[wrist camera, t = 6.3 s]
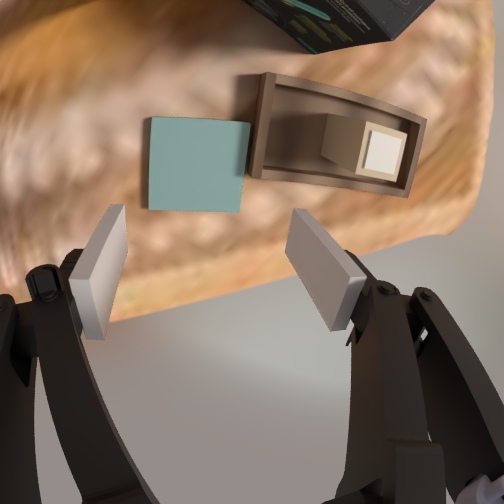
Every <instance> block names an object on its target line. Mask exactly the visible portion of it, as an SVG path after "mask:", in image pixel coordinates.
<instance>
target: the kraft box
mask: <svg viewBox="0 0 504 504" xmlns="http://www.w3.org/2000/svg"><path fill="white" fill-rule="evenodd" d="M406 138H407V134H406V133H403V132H400V131H397V130H394V129H391V128H387V127H384V126H381V125H378V124H374V123H371V122H368V121H364V120H359V119H355V118H350V117H345V116H340V115H335V114H330V113H328V117H327V123H326V128H325V134H324V139H323V144H322V150H321V156H323V157H325V158H327V159H329V160H331V161H333V162H334V163H336V164H338V165H340V166H342V167H344V168H345V169H347V170H349V171H351V172H353V173H354V174H358V175H364V176H369V177H374V178H380V179H385V180H389V181H394V182H396V180H397V176H398V172H399V168H400V164H401V160H402V155H403V151H404V147H405V142H406Z"/></svg>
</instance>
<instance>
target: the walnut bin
mask: <svg viewBox="0 0 504 504" xmlns="http://www.w3.org/2000/svg"><path fill="white" fill-rule="evenodd" d="M328 113H330V114H335V115H340V116H345V117H350V118H355V119H359V120H364V121H368V122H371V123H374V124H378V125H381V126H384V127H387V128H391V129H394V130H397V131H400V132H403V133H406V134H407V138H406V142H405V147H404V151H403V155H402V160H401V164H400V168H399V172H398V176H397V180H396V182H394V181H389V180H385V179H380V178H374V177H369V176H364V175H358V174H354V173H353V172H351V171H349V170H347V169H345V168H344V167H342V166H340V165H338V164H336V163H334V162H333V161H331V160H329V159H327V158H325V157H323V156H321V150H322V144H323V139H324V134H325V128H326V123H327V117H328ZM426 122H427V119H425V118H423V117H421V116H418V115H416V114H414V113H411V112H409V111H406V110H404V109H401V108H399V107H396V106H393V105H391V104H388V103H385V102H382V101H379V100H376V99H373V98H370V97H367V96H364V95H361V94H358V93H355V92H351V91H348V90H345V89H341V88H337V87H334V86H330V85H326V84H322V83H318V82H314V81H310V80H305V79H301V78H296V77H291V76H286V75H281V74H275V73H270V72H265V73H262V74H261V78H260V85H259V92H258V98H257V105H256V112H255V119H254V126H253V133H252V141H251V148H250V155H249V162H248V170H247V172H248V174H249V175H250V177H251V178H258V179H270V180H281V181H290V182H300V183H309V184H317V185H325V186H333V187H340V188H348V189H355V190H361V191H368V192H374V193H380V194H386V195H392V196H398V197H403V198H408V196H409V193H410V189H411V186H412V182H413V178H414V174H415V171H416V167H417V163H418V159H419V154H420V150H421V146H422V141H423V137H424V132H425V127H426Z"/></svg>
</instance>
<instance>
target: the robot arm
mask: <svg viewBox="0 0 504 504" xmlns="http://www.w3.org/2000/svg"><path fill="white" fill-rule="evenodd" d="M127 253H128V246H127V235H126V220H125V204H111V205H110V206H109V208H108V209H107V211H106V213H105V214H104V216H103V217H102V219H101V221H100V222H99V224H98V226H97V227H96V229H95V231H94V233H93V234H92V236H91V238H90V240H89V241H88V243H87V245H86V247H85V249H74V250H72V251H71V252H70V253H68V254H67V255H66V257H65V259H64V260H63V263H62V264H61V265H60V267H59V268H58V267H57V266H55V265H52V264H45V265H40V266H38V267H35V268H34V269H32V270H31V271H30V272H29V273H28V274H27V276H26V279H25V280H26V283H27V286H28V289H29V292H30V295H31V298H32V301H29V302H25V303H20V304H15V301H14V299H13V297H12V296H11V295H9V294H1V295H0V504H42V503H41V497H40V491H39V484H38V476H37V467H36V455H35V437H34V399H35V380H36V368H37V358H38V357H39V362H40V367H41V372H42V377H43V383H44V387H45V392H46V396H47V400H48V404H49V408H50V411H51V415H52V418H53V422H54V425H55V428H56V432H57V435H58V438H59V441H60V444H61V447H62V450H63V452H64V455H65V458H66V460H67V463H68V465H69V468H70V470H71V473H72V475H73V478H74V480H75V482H76V484H77V487H78V489H79V491H80V493H81V496H82V500H83V501H82V504H160V503H159V501H158V500H157V499H156V497H155V496H154V494H153V493H152V491H151V490H150V488H149V486H148V485H147V483H146V482H145V480H144V478H143V477H142V475H141V473H140V472H139V470H138V468H137V467H136V465H135V463H134V461H133V459H132V458H131V456H130V454H129V452H128V450H127V448H126V447H125V445H124V443H123V441H122V439H121V437H120V435H119V433H118V431H117V429H116V427H115V425H114V423H113V420H112V418H111V416H110V414H109V412H108V409H107V407H106V405H105V403H104V400H103V398H102V395H101V393H100V391H99V388H98V386H97V383H96V380H95V378H94V375H93V373H92V370H91V367H90V365H89V361H88V359H87V356H86V353H85V350H84V347H83V344H82V341H81V338H80V336H81V333H82V329H83V331H84V333H85V337H86V339H96V340H105V336H106V331H107V326H108V322H109V318H110V314H111V310H112V306H113V302H114V298H115V294H116V290H117V287H118V283H119V279H120V276H121V272H122V269H123V266H124V262H125V259H126V256H127ZM285 253H286V255H287V257H288V258H289V260H290V262H291V264H292V265H293V267H294V269H295V270H296V272H297V274H298V276H299V277H300V279H301V281H302V282H303V284H304V286H305V288H306V289H307V291H308V293H309V295H310V296H311V298H312V299H313V302H314V303H315V305H316V307H317V309H318V310H319V312H320V314H321V316H322V318H323V319H324V321H325V323H326V325H327V326H328V328H329V330H330V332H331V331H338V330H345V329H346V327H347V325H348V323H349V321H350V319H351V320H352V322H353V323H354V327H353V330H352V332H351V334H350V336H349V338H348V340H347V343H346V346H348V345H349V343H350V342H351V346H352V347H351V353H352V354H351V356H352V357H351V397H350V416H349V432H348V443H347V454H346V464H345V471H344V475H343V478H342V480H341V482H340V483H339V485H338V488H337V491H336V495H335V499H332V500H329V501H326V502H324V503H322V504H446V488H447V490H448V492H449V495H450V496H451V498H452V500H453V501H454V504H504V405H503V403H502V401H501V399H500V397H499V395H498V393H497V391H496V389H495V387H494V385H493V383H492V382H491V380H490V378H489V376H488V374H487V373H486V371H485V369H484V367H483V365H482V364H481V362H480V360H479V358H478V357H477V355H476V354H475V352H474V350H473V348H472V347H471V345H470V344H469V342H468V341H467V339H466V337H465V336H464V334H463V333H462V331H461V330H460V328H459V326H458V325H457V323H456V322H455V320H454V319H453V317H452V316H451V314H450V313H449V311H448V310H447V309H446V307H445V306H444V304H443V303H442V301H441V300H440V299H439V297H438V296H437V295H436V294H435V293H434V292H433V291H431V290H430V289H428V288H424V287H417V288H415V290H414V292H413V294H412V296H408V295H402V294H400V292H399V290H398V289H397V288H396V287H395V286H394V285H392V284H391V283H389V282H386V281H381V280H377V279H376V278H375V277H374V276H373V275H372V274H371V273H370V271H369V270H368V269H367V268H366V267H365V266H364V265H363V264H362V263H361V262H360V261H359V259H358V258H357V257H356V256H355V255H354V254H352V253H351V252H349V251H347V250H343V249H342V247H341V246H340V245H339V244H338V243H337V242H336V241H335V240H334V239H333V238H332V236H331V235H330V234H329V233H328V232H327V231H326V230H325V229H324V228H323V227H322V226H321V225H320V223H319V222H318V221H317V220H316V219H315V218H314V217H313V216H312V215H311V214H310V213H309V212H308V211H307V210H306V209H295V208H293V213H292V218H291V223H290V228H289V233H288V239H287V244H286V249H285ZM425 329H426V330H427V332H428V334H427V336H426V338H425V339H424V340H422V338H421V335H422V333H423V331H424V330H425ZM428 432H429V435H430V438H431V441H432V442H431V441H430V440H429V437H428Z"/></svg>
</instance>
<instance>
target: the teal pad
mask: <svg viewBox="0 0 504 504" xmlns="http://www.w3.org/2000/svg"><path fill="white" fill-rule="evenodd" d="M250 127H251V123H250V122H241V121H231V120H219V119H206V118H187V117H152V123H151V139H150V160H149V210H176V211H207V212H231V213H239V211H240V203H241V195H242V187H243V179H244V172H245V164H246V157H247V149H248V142H249V135H250Z"/></svg>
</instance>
